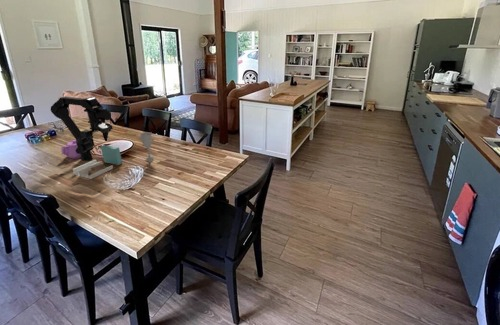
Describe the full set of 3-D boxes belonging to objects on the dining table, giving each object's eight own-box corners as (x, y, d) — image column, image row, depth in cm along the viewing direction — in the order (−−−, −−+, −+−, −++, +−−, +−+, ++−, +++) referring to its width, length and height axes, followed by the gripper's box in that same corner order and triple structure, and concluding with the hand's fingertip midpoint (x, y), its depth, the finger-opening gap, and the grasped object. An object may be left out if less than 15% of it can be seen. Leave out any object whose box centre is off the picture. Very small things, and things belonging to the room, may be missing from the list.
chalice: (143, 162, 174) (139, 135, 167) (144, 158, 180) (140, 132, 173) (155, 161, 176) (151, 134, 168) (156, 157, 182) (152, 131, 174)
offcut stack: (88, 175, 155) (86, 169, 154) (103, 168, 163) (101, 163, 162) (94, 176, 153) (92, 170, 152) (108, 169, 162) (107, 164, 160)
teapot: (98, 152, 191) (95, 137, 186) (70, 162, 175) (65, 146, 170) (87, 149, 197) (83, 134, 192) (58, 158, 181) (53, 143, 176)
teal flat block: (118, 165, 168) (115, 149, 164) (104, 162, 173) (100, 146, 168) (122, 163, 171) (118, 147, 166) (108, 160, 175) (104, 144, 171)
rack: (74, 176, 156) (72, 169, 154) (96, 166, 169) (95, 159, 167) (91, 180, 151) (89, 173, 150) (113, 169, 164) (111, 163, 162)
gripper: (90, 124, 153) (96, 150, 159) (116, 116, 168) (121, 140, 175) (76, 122, 156) (83, 147, 163) (103, 115, 172) (108, 138, 179)
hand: (99, 143), depth 170 cm, fingers open, 9 cm apart
